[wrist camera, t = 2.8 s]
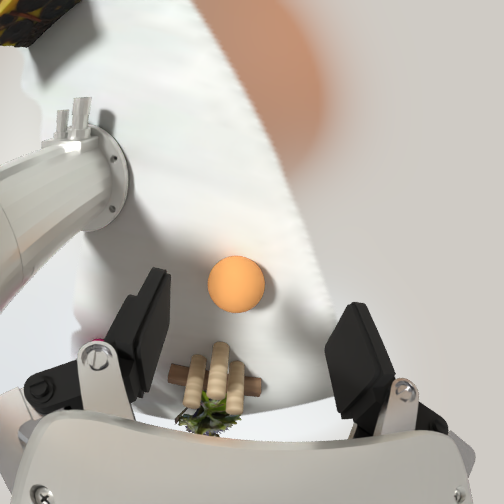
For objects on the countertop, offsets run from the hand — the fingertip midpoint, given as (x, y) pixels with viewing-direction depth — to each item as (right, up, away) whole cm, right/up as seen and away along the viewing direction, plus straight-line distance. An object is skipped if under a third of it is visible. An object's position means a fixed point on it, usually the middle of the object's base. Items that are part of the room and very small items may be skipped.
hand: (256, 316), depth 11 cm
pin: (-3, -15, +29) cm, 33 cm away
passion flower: (-8, -23, +34) cm, 42 cm away
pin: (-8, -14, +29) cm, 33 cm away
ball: (-2, -1, +18) cm, 18 cm away
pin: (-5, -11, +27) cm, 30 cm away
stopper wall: (-6, -18, +31) cm, 36 cm away
